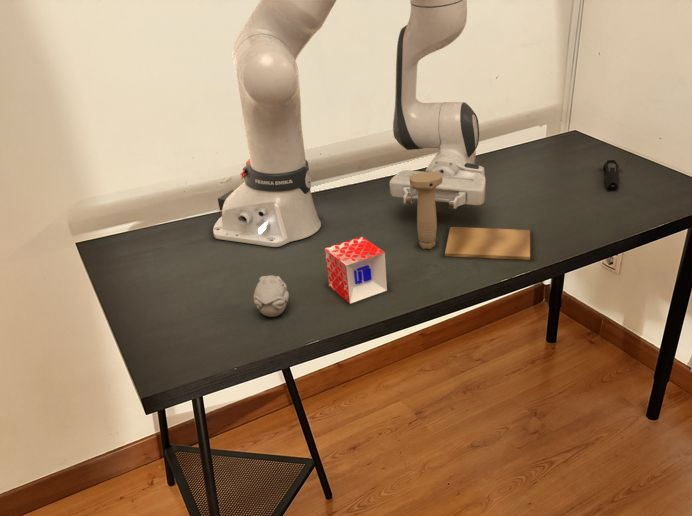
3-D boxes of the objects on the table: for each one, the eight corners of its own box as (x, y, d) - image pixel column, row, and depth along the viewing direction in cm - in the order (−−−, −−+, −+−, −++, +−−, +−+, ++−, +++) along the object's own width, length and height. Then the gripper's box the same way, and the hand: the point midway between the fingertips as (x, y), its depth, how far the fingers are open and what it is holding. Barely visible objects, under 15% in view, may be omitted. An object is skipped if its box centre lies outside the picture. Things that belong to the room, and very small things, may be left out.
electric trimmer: (603, 193, 171) (605, 181, 169) (602, 168, 183) (604, 156, 181) (619, 194, 170) (621, 182, 168) (617, 169, 182) (619, 157, 181)
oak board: (444, 256, 144) (444, 252, 144) (450, 230, 154) (450, 226, 154) (529, 260, 143) (530, 256, 143) (529, 233, 153) (530, 229, 152)
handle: (446, 248, 147) (446, 178, 139) (417, 254, 145) (415, 184, 136) (436, 238, 151) (435, 169, 142) (408, 244, 149) (405, 175, 140)
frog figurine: (295, 303, 130) (290, 269, 126) (286, 325, 124) (281, 290, 120) (261, 302, 130) (255, 268, 126) (251, 324, 124) (245, 289, 120)
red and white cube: (365, 273, 139) (362, 236, 134) (387, 290, 133) (384, 252, 129) (328, 286, 135) (324, 248, 130) (349, 304, 130) (345, 265, 125)
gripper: (398, 159, 156) (379, 183, 145) (491, 167, 152) (478, 192, 141) (399, 186, 160) (380, 212, 149) (490, 195, 156) (478, 222, 145)
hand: (429, 203), depth 145 cm, fingers open, 8 cm apart
